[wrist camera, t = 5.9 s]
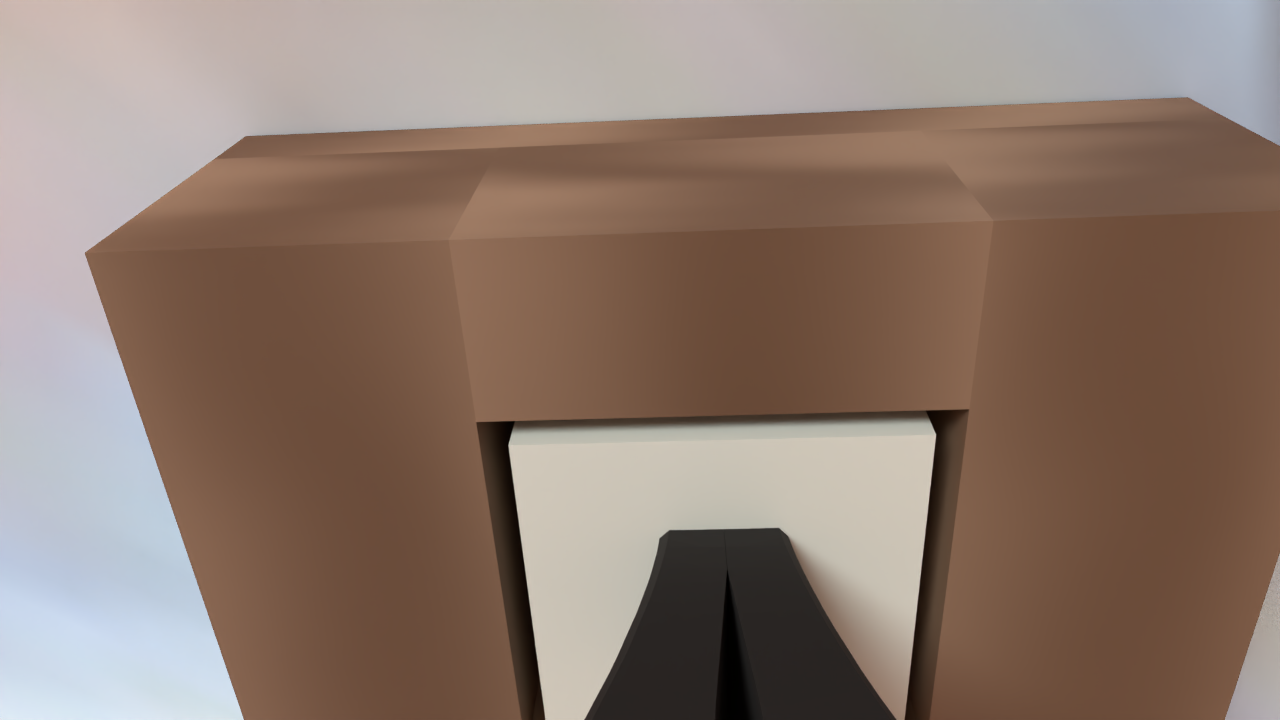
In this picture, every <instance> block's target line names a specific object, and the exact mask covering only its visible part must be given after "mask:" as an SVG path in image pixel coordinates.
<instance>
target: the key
mask: <svg viewBox="0 0 1280 720" xmlns="http://www.w3.org/2000/svg"><path fill="white" fill-rule="evenodd" d="M935 441H936V433H935V431H934V429H933V426H932V424H931V422H930V419H929V417H928V415H927V412H926V410H921V411H882V412H843V413H805V414H766V415H727V416H688V417H650V418H611V419H572V420H533V421H515V423H514V426H513V430H512V434H511V438H510V441H509V445H508V446H509V453H510V461H511V468H512V475H513V483H514V490H515V498H516V505H517V512H518V520H519V527H520V535H521V542H522V549H523V557H524V564H525V572H526V579H527V586H528V594H529V601H530V609H531V616H532V623H533V631H534V638H535V646H536V653H537V660H538V668H539V675H540V683H541V690H542V697H543V705H544V712H545V720H584V719H585V718H586V716H587V714H588V712H589V710H590V708H591V706H592V704H593V703H594V701H595V699H596V697H597V695H598V693H599V691H600V689H601V688H602V686H603V684H604V682H605V680H606V678H607V676H608V674H609V672H610V670H611V668H612V666H613V664H614V662H615V660H616V658H617V656H618V654H619V651H620V649H621V647H622V645H623V642H624V640H625V638H626V636H627V633H628V631H629V629H630V627H631V624H632V622H633V620H634V618H635V615H636V613H637V611H638V608H639V605H640V603H641V600H642V597H643V595H644V592H645V589H646V587H647V584H648V581H649V578H650V575H651V572H652V568H653V565H654V561H655V557H656V554H657V549H658V544H659V538H660V537H662V536H663V535H664V534H665V533H666V532H667V531H669V530H705V529H751V528H780V529H781V530H782V531H783V532H784V533H785V534H786V535H787V536H788V537H789V539H790V542H791V545H792V547H793V549H794V552H795V554H796V556H797V559H798V561H799V563H800V565H801V567H802V569H803V571H804V573H805V575H806V577H807V579H808V581H809V583H810V585H811V587H812V589H813V590H814V592H815V594H816V596H817V598H818V600H819V601H820V603H821V605H822V607H823V609H824V610H825V612H826V614H827V616H828V617H829V619H830V621H831V622H832V624H833V626H834V627H835V629H836V631H837V632H838V634H839V635H840V637H841V639H842V640H843V642H844V643H845V645H846V646H847V648H848V650H849V651H850V653H851V654H852V656H853V657H854V659H855V661H856V662H857V664H858V665H859V667H860V668H861V670H862V672H863V673H864V675H865V676H866V677H867V679H868V680H869V682H870V683H871V685H872V686H873V688H874V689H875V691H876V692H877V694H878V695H879V696H880V698H881V699H882V701H883V702H884V703H885V705H886V706H887V707H888V709H889V710H890V711H891V713H892V714H893V716H894V717H895V718H896V720H905V711H906V702H907V693H908V684H909V675H910V666H911V657H912V648H913V639H914V630H915V621H916V612H917V603H918V594H919V585H920V576H921V567H922V558H923V549H924V540H925V531H926V522H927V513H928V504H929V495H930V486H931V477H932V468H933V459H934V450H935Z"/></svg>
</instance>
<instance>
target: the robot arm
mask: <svg viewBox="0 0 1280 720" xmlns="http://www.w3.org/2000/svg"><path fill="white" fill-rule="evenodd" d="M584 720H896V718H895V717H894V716H893V714H892V713H891V711H890V710H889V709H888V707H887V706H886V705H885V703H884V702H883V701H882V699H881V698H880V696H879V695H878V694H877V692H876V691H875V689H874V688H873V686H872V685H871V683H870V682H869V680H868V679H867V677H866V676H865V675H864V673H863V672H862V670H861V668H860V667H859V665H858V664H857V662H856V661H855V659H854V657H853V656H852V654H851V653H850V651H849V650H848V648H847V646H846V645H845V643H844V642H843V640H842V639H841V637H840V635H839V634H838V632H837V631H836V629H835V627H834V626H833V624H832V622H831V621H830V619H829V617H828V616H827V614H826V612H825V610H824V609H823V607H822V605H821V603H820V601H819V600H818V598H817V596H816V594H815V592H814V590H813V589H812V587H811V585H810V583H809V581H808V579H807V577H806V575H805V573H804V571H803V569H802V567H801V565H800V563H799V561H798V559H797V556H796V554H795V552H794V549H793V547H792V545H791V542H790V539H789V537H788V536H787V535H786V534H785V533H784V532H783V531H782V530H781V529H780V528H751V529H705V530H669V531H667V532H666V533H665V534H664V535H663V536H662V537H660V538H659V544H658V549H657V554H656V557H655V561H654V565H653V568H652V572H651V575H650V578H649V581H648V584H647V587H646V589H645V592H644V595H643V597H642V600H641V603H640V605H639V608H638V611H637V613H636V615H635V618H634V620H633V622H632V624H631V627H630V629H629V631H628V633H627V636H626V638H625V640H624V642H623V645H622V647H621V649H620V651H619V654H618V656H617V658H616V660H615V662H614V664H613V666H612V668H611V670H610V672H609V674H608V676H607V678H606V680H605V682H604V684H603V686H602V688H601V689H600V691H599V693H598V695H597V697H596V699H595V701H594V703H593V704H592V706H591V708H590V710H589V712H588V714H587V716H586V718H585V719H584Z"/></svg>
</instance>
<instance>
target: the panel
mask: <svg viewBox="0 0 1280 720" xmlns="http://www.w3.org/2000/svg"><path fill="white" fill-rule="evenodd" d="M85 255H86V258H87V261H88V264H89V267H90V270H91V273H92V276H93V278H94V281H95V284H96V287H97V290H98V293H99V296H100V299H101V302H102V305H103V308H104V311H105V314H106V317H107V319H108V322H109V325H110V328H111V331H112V334H113V337H114V340H115V343H116V346H117V349H118V352H119V355H120V358H121V360H122V363H123V366H124V369H125V372H126V375H127V378H128V381H129V384H130V387H131V390H132V393H133V396H134V399H135V401H136V404H137V407H138V410H139V413H140V416H141V419H142V422H143V425H144V428H145V431H146V434H147V437H148V440H149V442H150V445H151V448H152V451H153V454H154V457H155V460H156V463H157V466H158V469H159V472H160V475H161V478H162V481H163V483H164V486H165V489H166V492H167V495H168V498H169V501H170V504H171V507H172V510H173V513H174V516H175V519H176V522H177V524H178V527H179V530H180V533H181V536H182V539H183V542H184V545H185V548H186V551H187V554H188V557H189V560H190V563H191V565H192V568H193V571H194V574H195V577H196V580H197V583H198V586H199V589H200V592H201V595H202V598H203V601H204V604H205V606H206V609H207V612H208V615H209V618H210V621H211V624H212V627H213V630H214V633H215V636H216V639H217V642H218V645H219V647H220V650H221V653H222V656H223V659H224V662H225V665H226V668H227V671H228V674H229V677H230V680H231V683H232V686H233V688H234V691H235V694H236V697H237V700H238V703H239V706H240V709H241V712H242V715H243V718H244V720H545V712H544V705H543V697H542V690H541V683H540V675H539V668H538V660H537V653H536V646H535V638H534V631H533V623H532V616H531V609H530V601H529V594H528V586H527V579H526V572H525V564H524V557H523V549H522V542H521V535H520V527H519V520H518V512H517V505H516V498H515V490H514V483H513V475H512V468H511V461H510V453H509V446H508V445H509V441H510V438H511V434H512V430H513V426H514V423H515V421H533V420H572V419H611V418H650V417H688V416H727V415H766V414H805V413H843V412H882V411H921V410H926V412H927V415H928V417H929V419H930V422H931V424H932V426H933V429H934V431H935V433H936V441H935V450H934V459H933V468H932V477H931V486H930V495H929V504H928V513H927V522H926V531H925V540H924V549H923V558H922V567H921V576H920V585H919V594H918V603H917V612H916V621H915V630H914V639H913V648H912V657H911V666H910V675H909V684H908V693H907V702H906V711H905V720H1225V717H1226V714H1227V711H1228V708H1229V705H1230V702H1231V699H1232V696H1233V693H1234V690H1235V687H1236V684H1237V681H1238V678H1239V674H1240V671H1241V668H1242V665H1243V662H1244V659H1245V656H1246V653H1247V650H1248V647H1249V644H1250V641H1251V638H1252V635H1253V632H1254V629H1255V626H1256V623H1257V620H1258V617H1259V614H1260V611H1261V608H1262V605H1263V602H1264V599H1265V596H1266V593H1267V590H1268V587H1269V584H1270V581H1271V578H1272V574H1273V571H1274V568H1275V565H1276V562H1277V559H1278V556H1279V553H1280V146H1279V145H1277V144H1275V143H1273V142H1271V141H1269V140H1267V139H1265V138H1263V137H1262V136H1260V135H1258V134H1256V133H1254V132H1252V131H1250V130H1248V129H1246V128H1245V127H1243V126H1241V125H1239V124H1237V123H1235V122H1233V121H1231V120H1229V119H1228V118H1226V117H1224V116H1222V115H1220V114H1218V113H1216V112H1214V111H1212V110H1211V109H1209V108H1207V107H1205V106H1203V105H1201V104H1199V103H1197V102H1195V101H1194V100H1192V99H1190V98H1188V97H1186V98H1162V99H1138V100H1114V101H1089V102H1065V103H1041V104H1017V105H993V106H968V107H944V108H920V109H896V110H871V111H847V112H823V113H799V114H775V115H750V116H726V117H702V118H678V119H653V120H629V121H605V122H581V123H557V124H532V125H508V126H484V127H460V128H435V129H411V130H387V131H363V132H339V133H314V134H290V135H266V136H246V137H244V138H243V139H241V140H240V141H239V142H237V143H236V144H235V145H233V146H232V147H230V148H229V149H228V150H226V151H225V152H224V153H222V154H221V155H219V156H218V157H217V158H215V159H214V160H212V161H211V162H210V163H208V164H207V165H206V166H204V167H203V168H201V169H200V170H199V171H197V172H196V173H195V174H193V175H192V176H190V177H189V178H188V179H186V180H185V181H183V182H182V183H181V184H179V185H178V186H177V187H175V188H174V189H172V190H171V191H170V192H168V193H167V194H165V195H164V196H163V197H161V198H160V199H159V200H157V201H156V202H154V203H153V204H152V205H150V206H149V207H148V208H146V209H145V210H143V211H142V212H141V213H139V214H138V215H136V216H135V217H134V218H132V219H131V220H130V221H128V222H127V223H125V224H124V225H123V226H121V227H120V228H118V229H117V230H116V231H114V232H113V233H112V234H110V235H109V236H107V237H106V238H105V239H103V240H102V241H101V242H99V243H98V244H96V245H95V246H94V247H92V248H91V249H89V250H88V251H87V252H85Z"/></svg>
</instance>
